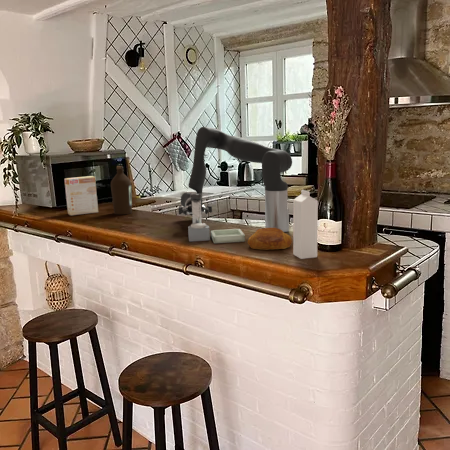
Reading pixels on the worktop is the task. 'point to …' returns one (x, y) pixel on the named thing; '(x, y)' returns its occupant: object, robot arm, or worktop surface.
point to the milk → (305, 226)
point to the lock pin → (196, 207)
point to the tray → (227, 236)
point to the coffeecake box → (81, 195)
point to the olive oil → (121, 193)
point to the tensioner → (198, 232)
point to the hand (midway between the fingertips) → (196, 212)
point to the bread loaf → (269, 239)
